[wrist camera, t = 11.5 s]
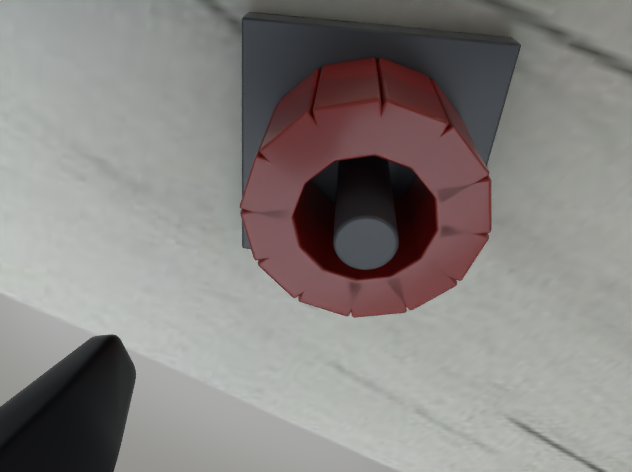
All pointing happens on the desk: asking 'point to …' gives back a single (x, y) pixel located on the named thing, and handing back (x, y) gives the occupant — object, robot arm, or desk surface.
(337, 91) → the ring
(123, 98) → the desk surface
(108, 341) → the robot arm
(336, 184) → the ring stand
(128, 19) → the desk surface
